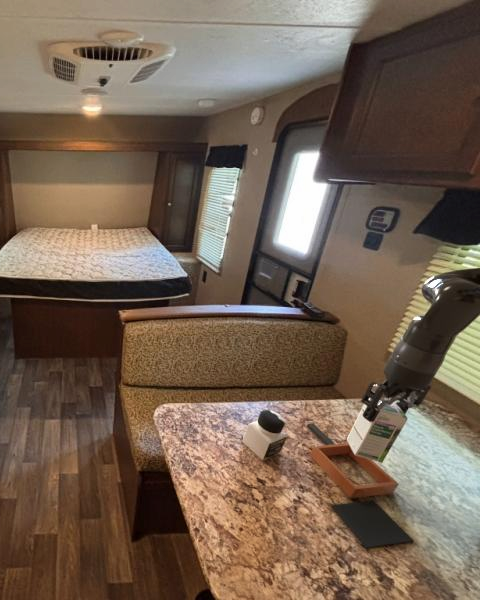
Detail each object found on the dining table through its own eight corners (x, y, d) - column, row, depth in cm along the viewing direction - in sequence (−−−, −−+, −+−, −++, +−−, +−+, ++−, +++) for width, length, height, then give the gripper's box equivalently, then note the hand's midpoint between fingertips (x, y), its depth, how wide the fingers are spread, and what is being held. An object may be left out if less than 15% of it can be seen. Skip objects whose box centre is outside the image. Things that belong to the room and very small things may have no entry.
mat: (372, 501, 77) (373, 500, 77) (412, 541, 69) (413, 540, 69) (330, 506, 76) (331, 505, 76) (366, 548, 68) (367, 547, 67)
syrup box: (354, 456, 79) (378, 411, 73) (345, 438, 84) (367, 395, 78) (382, 463, 77) (409, 419, 71) (371, 445, 82) (396, 402, 77)
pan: (324, 429, 98) (328, 421, 97) (392, 493, 80) (399, 484, 78) (288, 432, 96) (292, 424, 95) (349, 498, 78) (355, 489, 76)
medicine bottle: (262, 461, 86) (276, 429, 81) (241, 441, 92) (252, 410, 87) (280, 453, 89) (294, 421, 84) (258, 434, 95) (270, 404, 90)
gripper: (404, 374, 65) (371, 432, 72) (461, 370, 67) (423, 428, 74) (369, 353, 72) (342, 409, 79) (421, 351, 74) (390, 405, 81)
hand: (381, 418), depth 76 cm, fingers closed on syrup box, 7 cm apart
